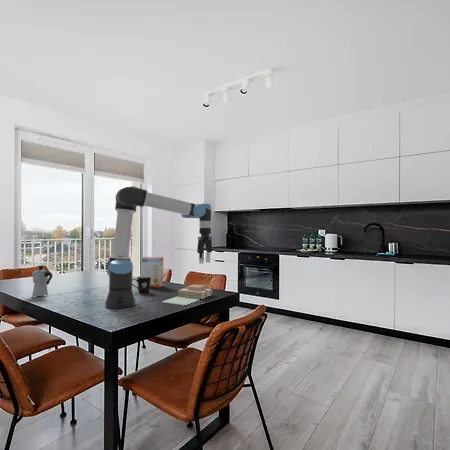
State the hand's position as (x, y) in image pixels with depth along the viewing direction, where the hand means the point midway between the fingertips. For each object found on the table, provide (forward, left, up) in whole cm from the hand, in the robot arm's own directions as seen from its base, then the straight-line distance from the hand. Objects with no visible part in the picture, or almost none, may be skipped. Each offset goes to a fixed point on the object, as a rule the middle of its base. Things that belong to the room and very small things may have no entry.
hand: (204, 262), depth 194 cm
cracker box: (+1, +43, -20) cm, 47 cm away
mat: (-26, 0, -19) cm, 32 cm away
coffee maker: (-55, +80, -19) cm, 99 cm away
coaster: (-10, 0, -15) cm, 18 cm away
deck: (-11, 0, -19) cm, 22 cm away
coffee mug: (-18, +36, -19) cm, 45 cm away
